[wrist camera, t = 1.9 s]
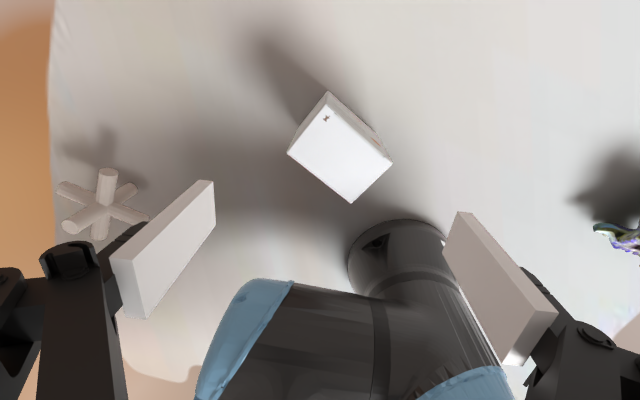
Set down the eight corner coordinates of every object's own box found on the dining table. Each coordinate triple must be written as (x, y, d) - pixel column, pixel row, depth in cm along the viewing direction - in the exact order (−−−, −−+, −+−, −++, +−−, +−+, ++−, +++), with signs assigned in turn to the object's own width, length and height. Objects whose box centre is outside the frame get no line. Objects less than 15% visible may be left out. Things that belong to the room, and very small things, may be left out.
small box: (297, 126, 34) (282, 152, 25) (328, 88, 32) (324, 101, 22) (347, 168, 36) (350, 206, 27) (378, 134, 34) (394, 164, 24)
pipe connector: (90, 202, 40) (20, 242, 31) (98, 140, 36) (20, 167, 27) (159, 230, 42) (110, 276, 33) (174, 174, 38) (124, 210, 29)
